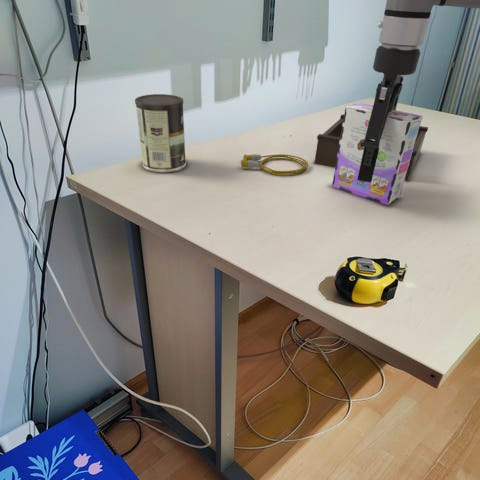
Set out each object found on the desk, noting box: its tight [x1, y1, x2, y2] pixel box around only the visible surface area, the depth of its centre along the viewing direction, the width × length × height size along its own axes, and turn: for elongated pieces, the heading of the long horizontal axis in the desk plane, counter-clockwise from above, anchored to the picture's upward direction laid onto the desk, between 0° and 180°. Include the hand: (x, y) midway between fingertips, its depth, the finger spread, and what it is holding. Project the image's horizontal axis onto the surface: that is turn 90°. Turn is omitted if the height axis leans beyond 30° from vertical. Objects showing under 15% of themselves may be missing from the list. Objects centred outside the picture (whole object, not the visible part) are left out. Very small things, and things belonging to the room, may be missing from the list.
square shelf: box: [314, 113, 429, 182], centre depth 106 cm, size 23×23×7 cm
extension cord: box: [240, 153, 309, 177], centre depth 101 cm, size 12×16×2 cm
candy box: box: [331, 102, 423, 206], centre depth 86 cm, size 14×6×16 cm, turn 47°
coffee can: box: [134, 93, 187, 173], centre depth 95 cm, size 10×10×14 cm
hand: (369, 172), depth 88 cm, fingers open, 10 cm apart
